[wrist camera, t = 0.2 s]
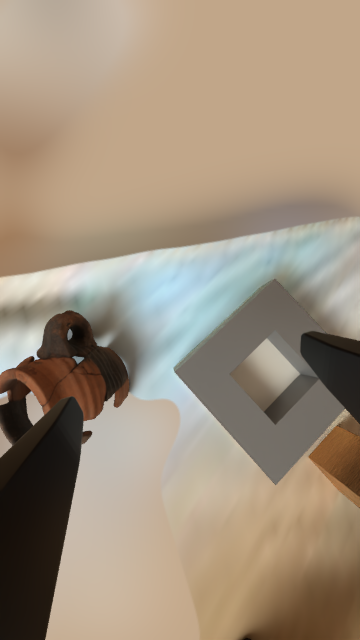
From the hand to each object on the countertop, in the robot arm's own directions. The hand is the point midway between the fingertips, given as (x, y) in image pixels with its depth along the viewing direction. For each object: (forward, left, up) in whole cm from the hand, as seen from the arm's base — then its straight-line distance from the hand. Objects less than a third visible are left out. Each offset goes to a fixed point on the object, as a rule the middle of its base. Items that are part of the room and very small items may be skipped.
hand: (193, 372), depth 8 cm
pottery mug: (+5, +9, -15) cm, 18 cm away
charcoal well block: (-7, -5, -15) cm, 17 cm away
